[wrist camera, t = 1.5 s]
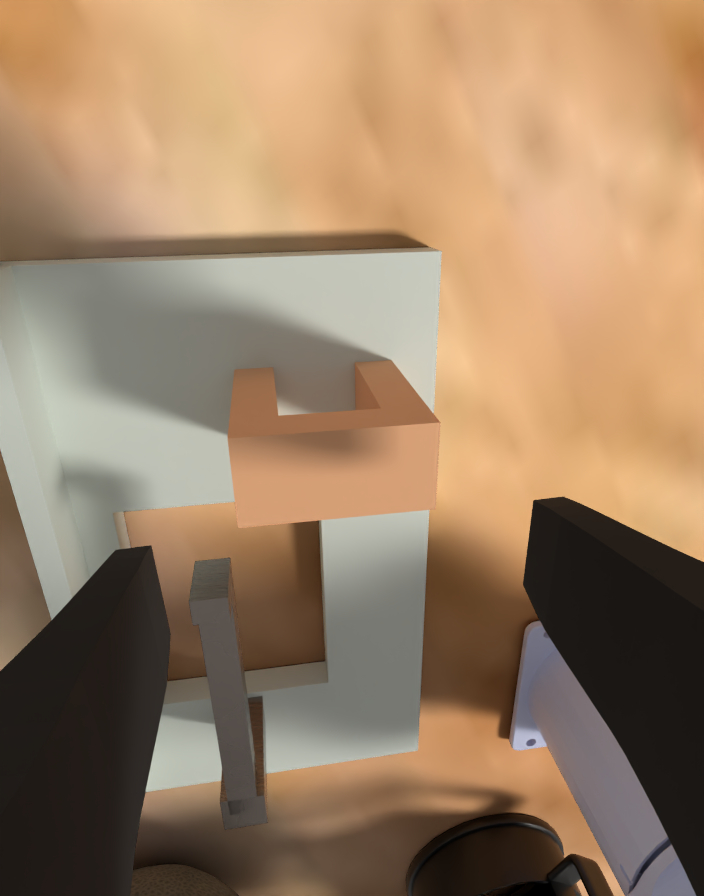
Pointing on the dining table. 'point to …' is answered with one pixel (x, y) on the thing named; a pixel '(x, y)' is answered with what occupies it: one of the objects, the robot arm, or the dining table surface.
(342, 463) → the peach u-shaped bracket
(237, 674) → the hook arm
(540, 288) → the dining table surface
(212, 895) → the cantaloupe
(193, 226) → the dining table surface
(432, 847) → the french press
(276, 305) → the grey base plate
